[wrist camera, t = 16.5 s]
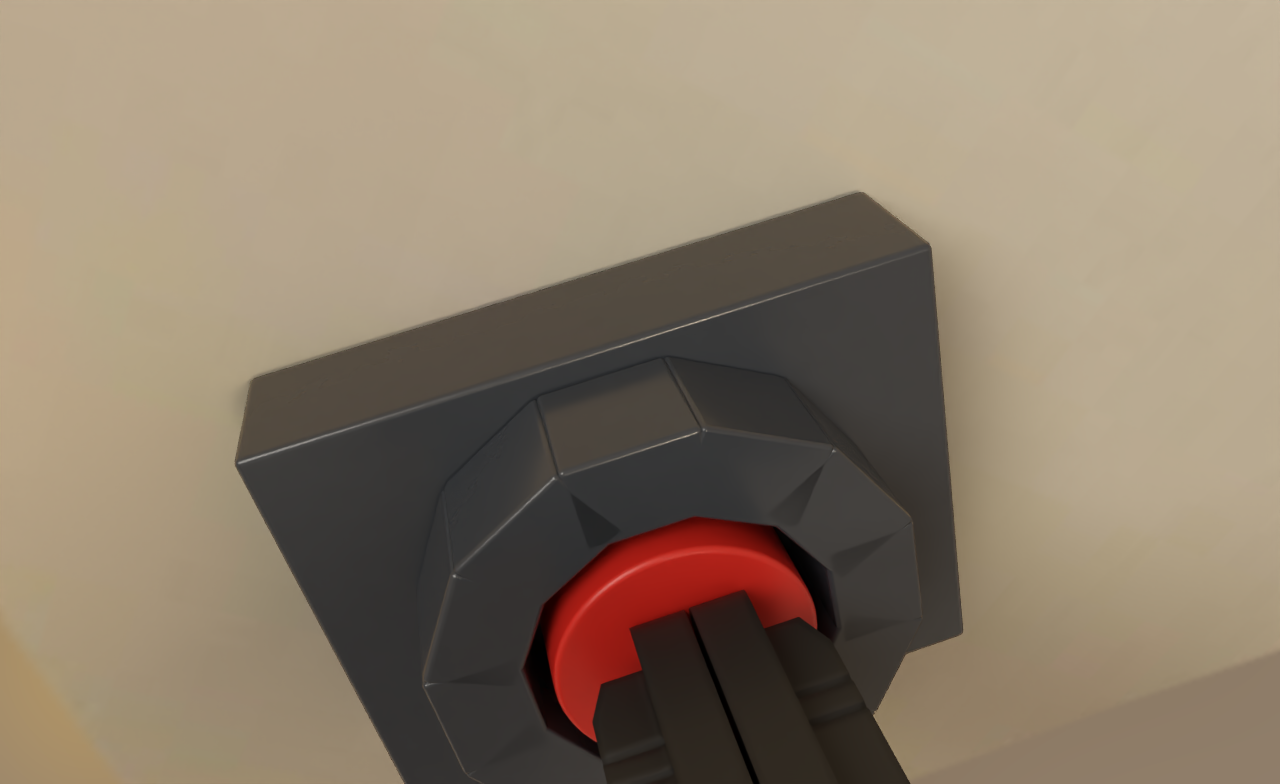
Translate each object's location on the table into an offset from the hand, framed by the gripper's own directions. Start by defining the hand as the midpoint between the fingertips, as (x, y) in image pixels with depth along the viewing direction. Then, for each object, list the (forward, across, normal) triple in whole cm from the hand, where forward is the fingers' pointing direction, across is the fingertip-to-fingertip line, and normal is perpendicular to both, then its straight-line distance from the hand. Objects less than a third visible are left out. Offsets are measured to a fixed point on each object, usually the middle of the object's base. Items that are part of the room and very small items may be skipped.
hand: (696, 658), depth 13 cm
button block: (+4, 0, 0) cm, 4 cm away
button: (+2, 0, 0) cm, 2 cm away
